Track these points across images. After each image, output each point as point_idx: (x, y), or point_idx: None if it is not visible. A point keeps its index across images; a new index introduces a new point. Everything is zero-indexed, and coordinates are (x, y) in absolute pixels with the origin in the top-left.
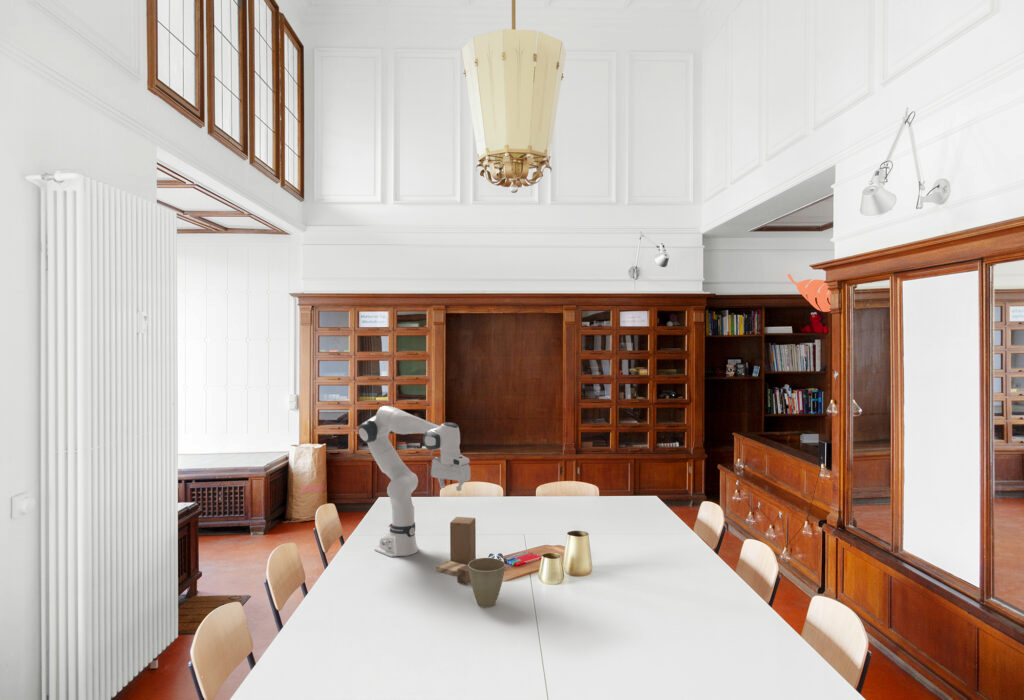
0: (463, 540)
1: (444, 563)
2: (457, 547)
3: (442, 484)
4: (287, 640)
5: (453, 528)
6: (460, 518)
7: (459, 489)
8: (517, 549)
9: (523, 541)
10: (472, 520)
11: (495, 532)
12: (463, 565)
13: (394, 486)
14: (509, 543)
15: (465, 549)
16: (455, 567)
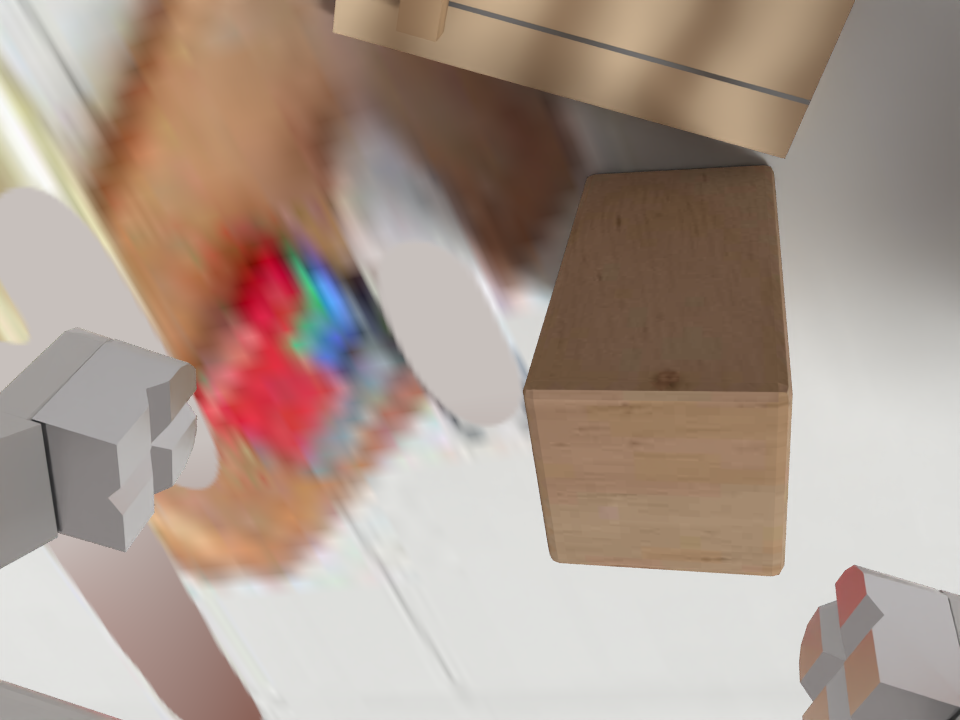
0: (624, 277)
1: (803, 79)
2: (696, 238)
3: (884, 692)
4: None
5: (740, 346)
6: (706, 529)
7: (55, 366)
8: (393, 502)
9: (418, 610)
10: (543, 488)
11: (641, 717)
12: (602, 81)
13: None
14: (484, 579)
15: (612, 233)
16: (658, 9)
